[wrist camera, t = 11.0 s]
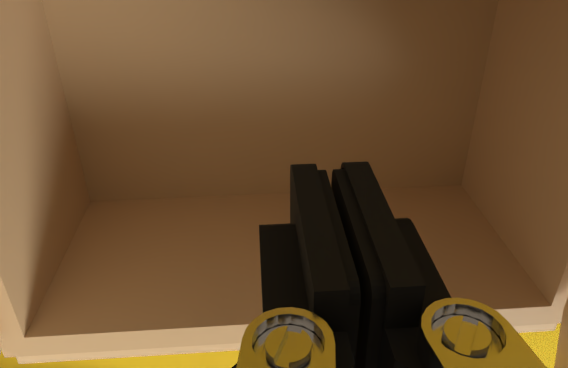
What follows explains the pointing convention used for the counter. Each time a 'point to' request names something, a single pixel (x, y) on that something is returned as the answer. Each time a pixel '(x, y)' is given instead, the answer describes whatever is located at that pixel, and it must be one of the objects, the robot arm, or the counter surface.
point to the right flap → (563, 341)
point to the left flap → (1, 342)
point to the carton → (266, 156)
